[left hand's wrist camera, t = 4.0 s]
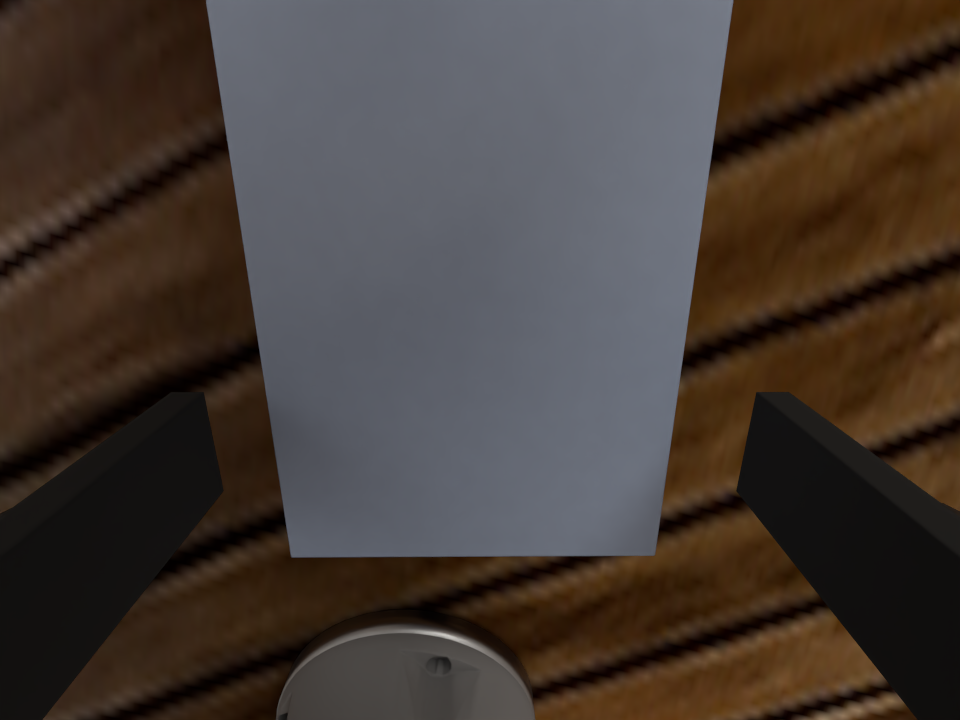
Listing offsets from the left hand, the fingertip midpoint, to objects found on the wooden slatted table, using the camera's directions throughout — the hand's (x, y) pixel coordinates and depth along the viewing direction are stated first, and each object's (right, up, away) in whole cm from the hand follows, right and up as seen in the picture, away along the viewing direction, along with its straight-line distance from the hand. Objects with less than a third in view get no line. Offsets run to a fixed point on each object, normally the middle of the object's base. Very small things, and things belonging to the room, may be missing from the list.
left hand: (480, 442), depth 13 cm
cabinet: (0, +8, +10) cm, 13 cm away
